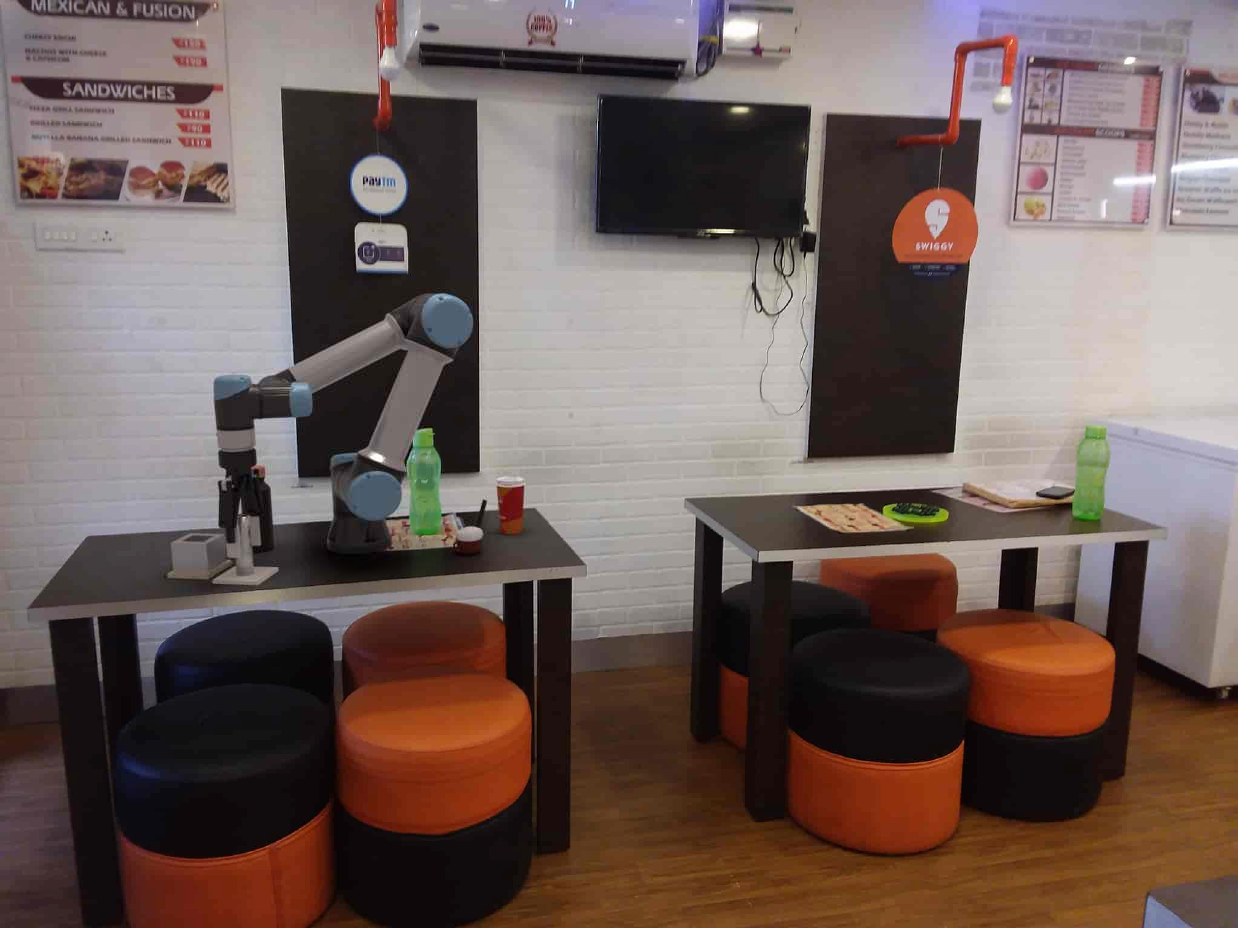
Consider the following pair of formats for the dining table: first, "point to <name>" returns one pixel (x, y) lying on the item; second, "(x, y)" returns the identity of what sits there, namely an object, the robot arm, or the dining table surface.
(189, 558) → the grey box
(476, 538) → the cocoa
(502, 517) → the paper cup
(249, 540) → the metal cylinder
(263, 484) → the bottle
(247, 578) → the pad
